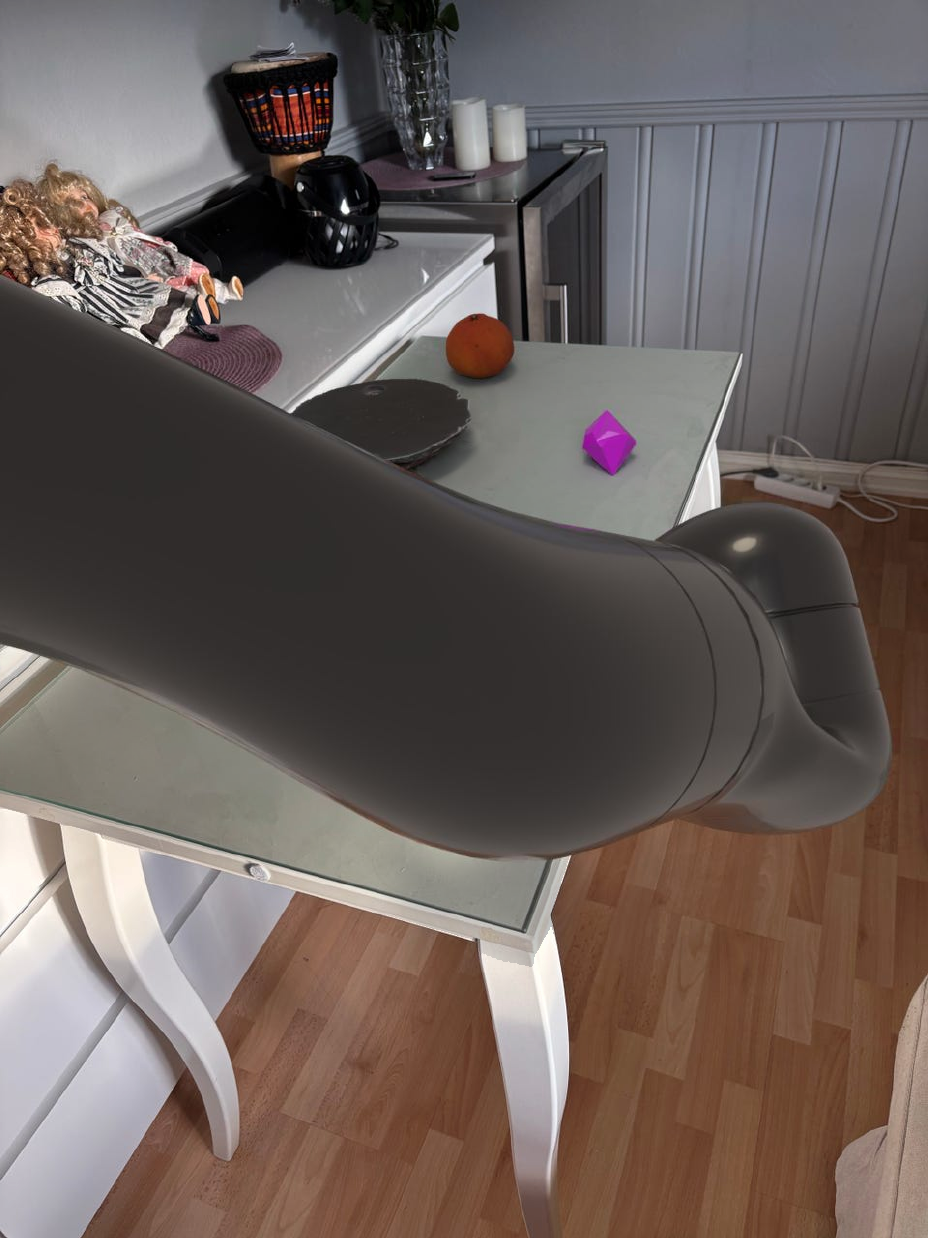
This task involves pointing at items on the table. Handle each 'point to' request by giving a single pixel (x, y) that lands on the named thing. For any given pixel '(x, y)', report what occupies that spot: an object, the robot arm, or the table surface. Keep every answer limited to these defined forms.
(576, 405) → the table surface
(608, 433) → the crystal
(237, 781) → the table surface
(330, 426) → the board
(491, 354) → the fruit
